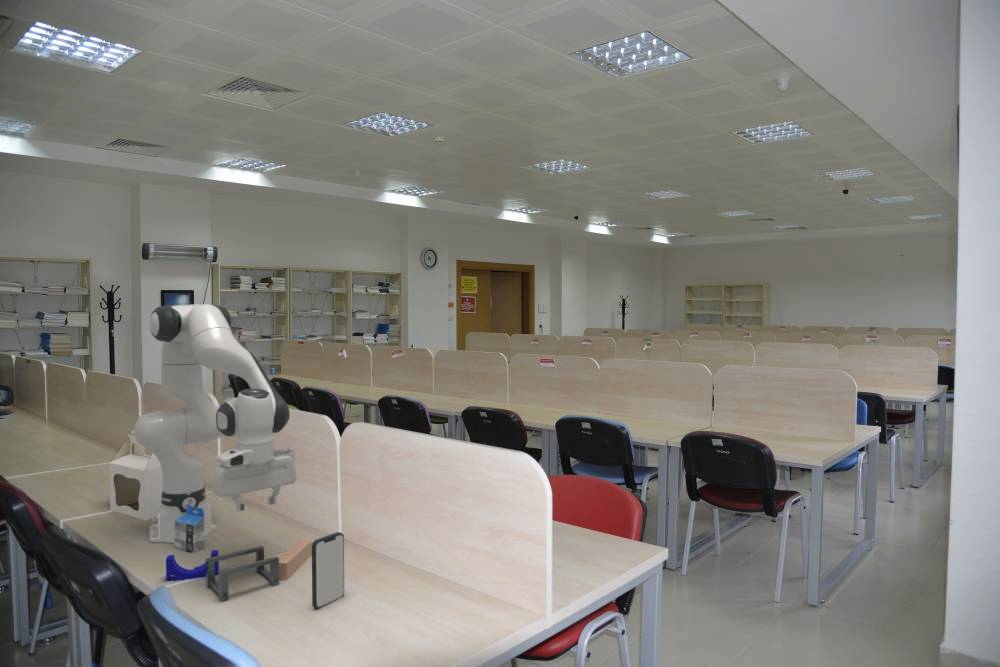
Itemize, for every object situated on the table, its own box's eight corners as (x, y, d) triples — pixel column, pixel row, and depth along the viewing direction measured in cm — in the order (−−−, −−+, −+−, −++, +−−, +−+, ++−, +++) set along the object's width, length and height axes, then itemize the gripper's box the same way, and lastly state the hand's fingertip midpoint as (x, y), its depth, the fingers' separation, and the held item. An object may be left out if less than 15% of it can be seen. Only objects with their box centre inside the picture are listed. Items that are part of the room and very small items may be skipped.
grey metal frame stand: (206, 586, 161) (205, 558, 161) (262, 571, 170) (261, 545, 170) (221, 602, 152) (221, 572, 152) (279, 585, 162) (278, 558, 161)
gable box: (109, 512, 221) (108, 431, 220) (147, 503, 232) (146, 426, 231) (146, 523, 209) (144, 438, 208) (184, 512, 221) (182, 431, 220)
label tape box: (173, 549, 186) (172, 507, 186) (186, 545, 190) (185, 504, 189) (192, 555, 182) (192, 512, 182) (205, 550, 185) (204, 508, 185)
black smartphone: (340, 595, 156) (340, 530, 155) (345, 597, 155) (344, 531, 155) (310, 608, 149) (309, 540, 148) (315, 610, 148) (314, 542, 147)
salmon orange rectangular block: (298, 558, 180) (298, 540, 180) (311, 558, 180) (311, 541, 180) (272, 581, 164) (272, 562, 164) (287, 582, 164) (287, 563, 164)
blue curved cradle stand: (218, 569, 172) (218, 547, 172) (217, 576, 168) (217, 553, 168) (169, 576, 168) (168, 553, 168) (166, 582, 164) (165, 559, 164)
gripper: (289, 445, 173) (290, 496, 173) (210, 457, 159) (211, 512, 159) (300, 449, 168) (300, 501, 168) (219, 461, 154) (219, 518, 155)
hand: (256, 507), depth 164 cm, fingers open, 7 cm apart
